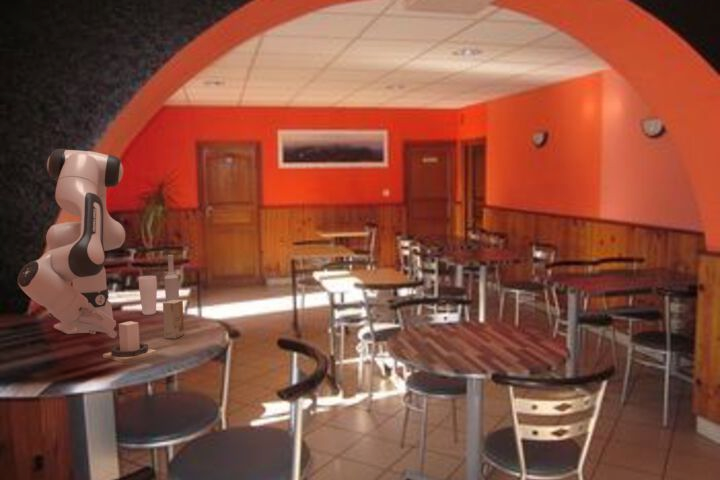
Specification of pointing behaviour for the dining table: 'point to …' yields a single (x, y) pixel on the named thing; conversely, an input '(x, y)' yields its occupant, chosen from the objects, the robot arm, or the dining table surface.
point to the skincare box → (173, 319)
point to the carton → (129, 336)
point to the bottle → (171, 282)
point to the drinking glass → (148, 294)
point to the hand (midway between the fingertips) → (104, 333)
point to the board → (128, 359)
